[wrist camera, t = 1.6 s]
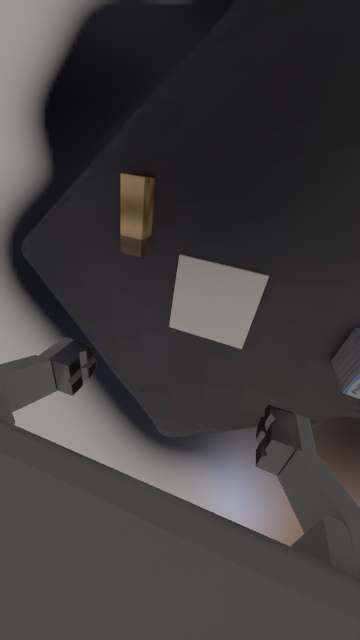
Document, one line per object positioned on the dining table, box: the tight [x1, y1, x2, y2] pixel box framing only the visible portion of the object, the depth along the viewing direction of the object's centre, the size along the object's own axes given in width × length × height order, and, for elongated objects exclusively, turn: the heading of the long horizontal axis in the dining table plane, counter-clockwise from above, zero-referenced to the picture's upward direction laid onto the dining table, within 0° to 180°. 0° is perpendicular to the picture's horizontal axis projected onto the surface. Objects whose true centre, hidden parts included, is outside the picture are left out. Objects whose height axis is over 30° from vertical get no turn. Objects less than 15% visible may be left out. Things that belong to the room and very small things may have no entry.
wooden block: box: [121, 173, 155, 257], centre depth 39 cm, size 12×4×4 cm, turn 171°
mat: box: [169, 254, 269, 349], centre depth 44 cm, size 16×16×1 cm
